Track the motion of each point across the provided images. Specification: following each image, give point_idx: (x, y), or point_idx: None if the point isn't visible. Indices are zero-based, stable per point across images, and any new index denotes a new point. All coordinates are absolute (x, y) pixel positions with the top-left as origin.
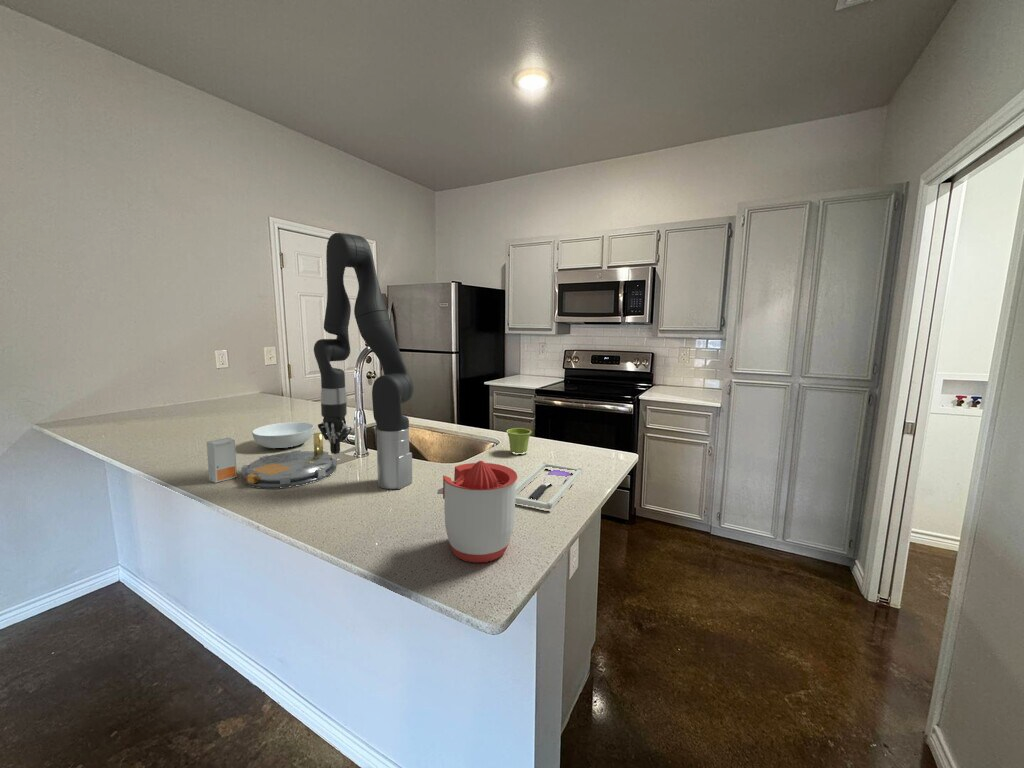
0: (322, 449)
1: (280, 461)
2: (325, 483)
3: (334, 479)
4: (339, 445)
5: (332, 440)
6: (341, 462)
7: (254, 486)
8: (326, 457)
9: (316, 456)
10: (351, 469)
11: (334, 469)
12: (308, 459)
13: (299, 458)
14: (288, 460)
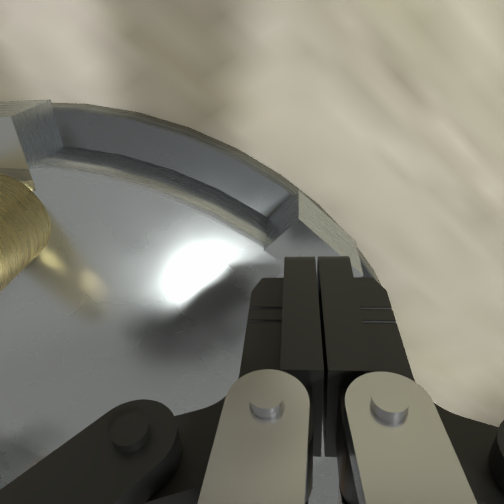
0: (9, 231)
1: (13, 450)
2: (469, 412)
3: (481, 355)
4: (402, 358)
5: (309, 490)
6: (205, 33)
7: None
8: (188, 261)
9: (79, 284)
10: (472, 144)
11: (370, 274)
12: (114, 362)
13: (31, 372)
14: (26, 423)
